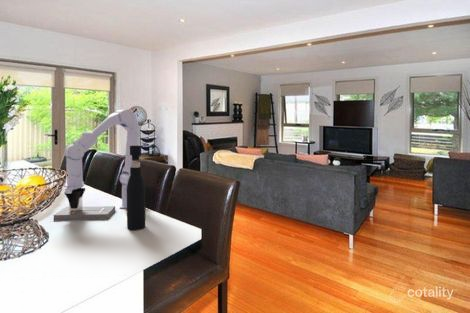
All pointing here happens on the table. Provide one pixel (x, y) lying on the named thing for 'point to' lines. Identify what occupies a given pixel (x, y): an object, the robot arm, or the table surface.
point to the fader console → (85, 213)
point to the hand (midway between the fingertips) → (75, 207)
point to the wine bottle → (135, 193)
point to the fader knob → (78, 205)
